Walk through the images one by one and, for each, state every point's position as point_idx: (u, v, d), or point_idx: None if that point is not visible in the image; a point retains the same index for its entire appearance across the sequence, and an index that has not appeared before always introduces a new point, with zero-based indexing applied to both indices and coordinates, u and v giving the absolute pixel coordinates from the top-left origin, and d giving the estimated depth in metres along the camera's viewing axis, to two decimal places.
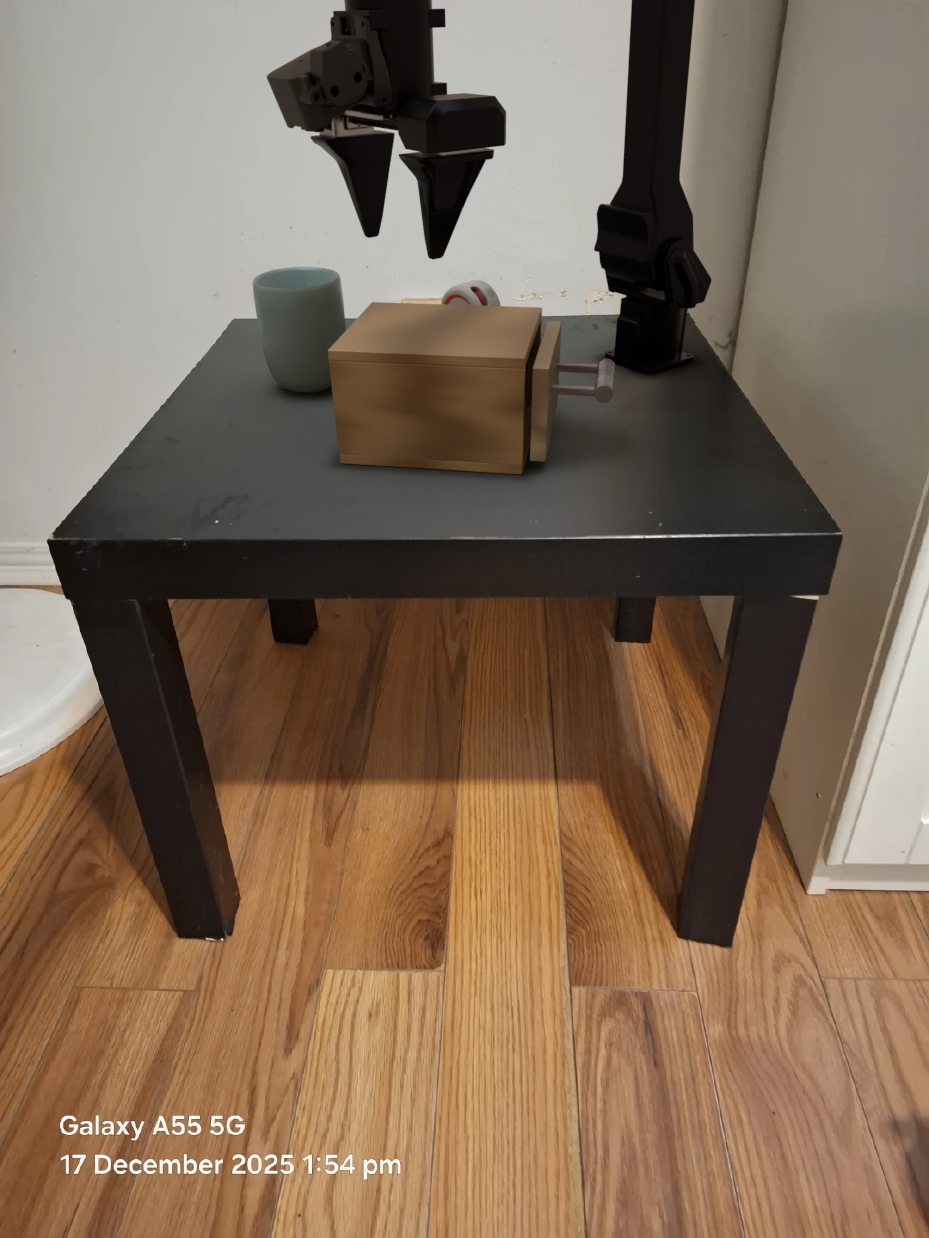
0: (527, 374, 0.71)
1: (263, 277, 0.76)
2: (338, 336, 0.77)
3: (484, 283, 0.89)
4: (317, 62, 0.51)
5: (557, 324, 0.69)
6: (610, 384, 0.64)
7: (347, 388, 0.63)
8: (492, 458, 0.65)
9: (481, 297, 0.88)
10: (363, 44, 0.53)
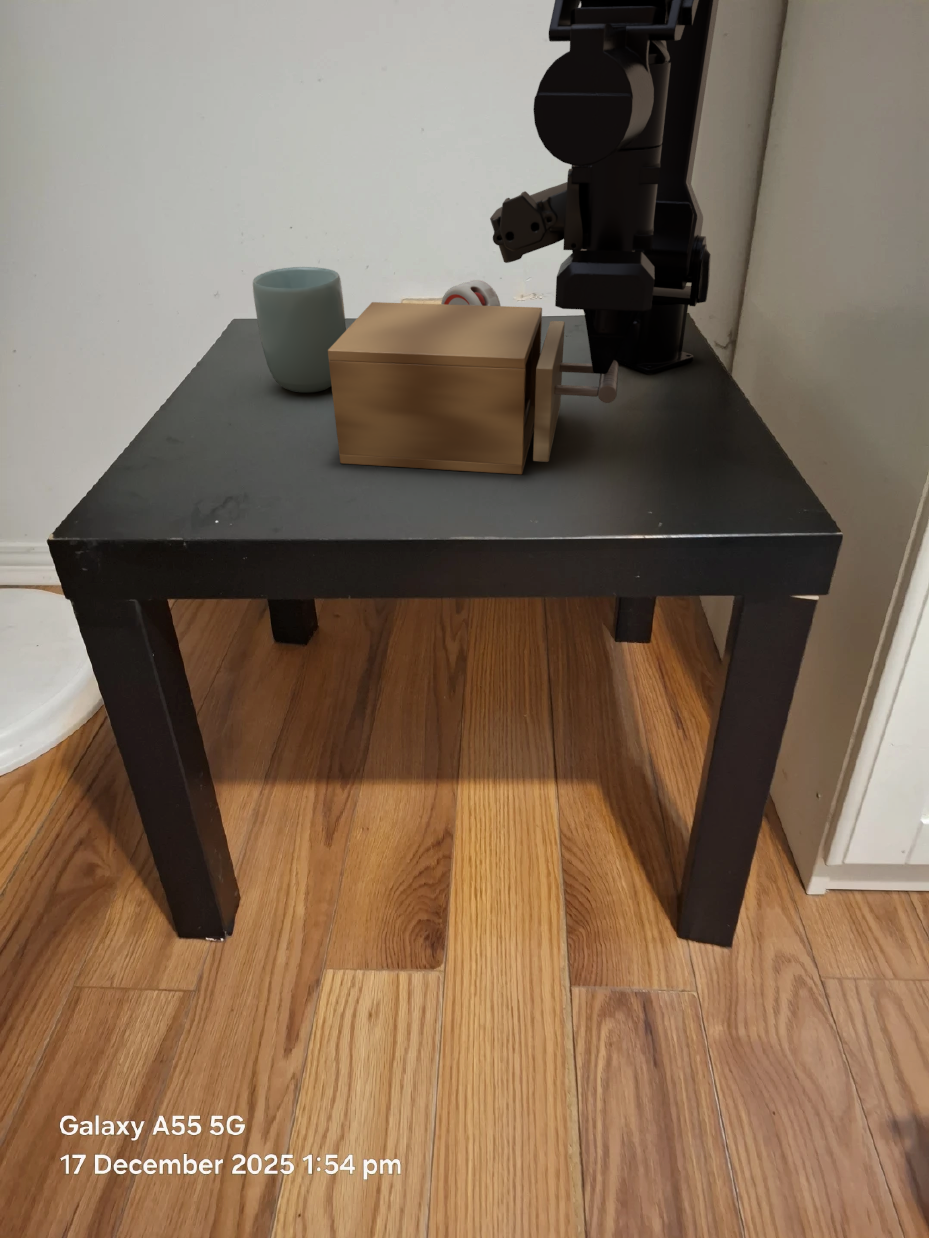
0: (530, 374, 0.71)
1: (263, 277, 0.76)
2: (338, 336, 0.77)
3: (484, 283, 0.89)
4: None
5: (560, 324, 0.69)
6: (613, 384, 0.64)
7: (347, 388, 0.63)
8: (492, 458, 0.65)
9: (481, 297, 0.88)
10: (565, 195, 0.57)
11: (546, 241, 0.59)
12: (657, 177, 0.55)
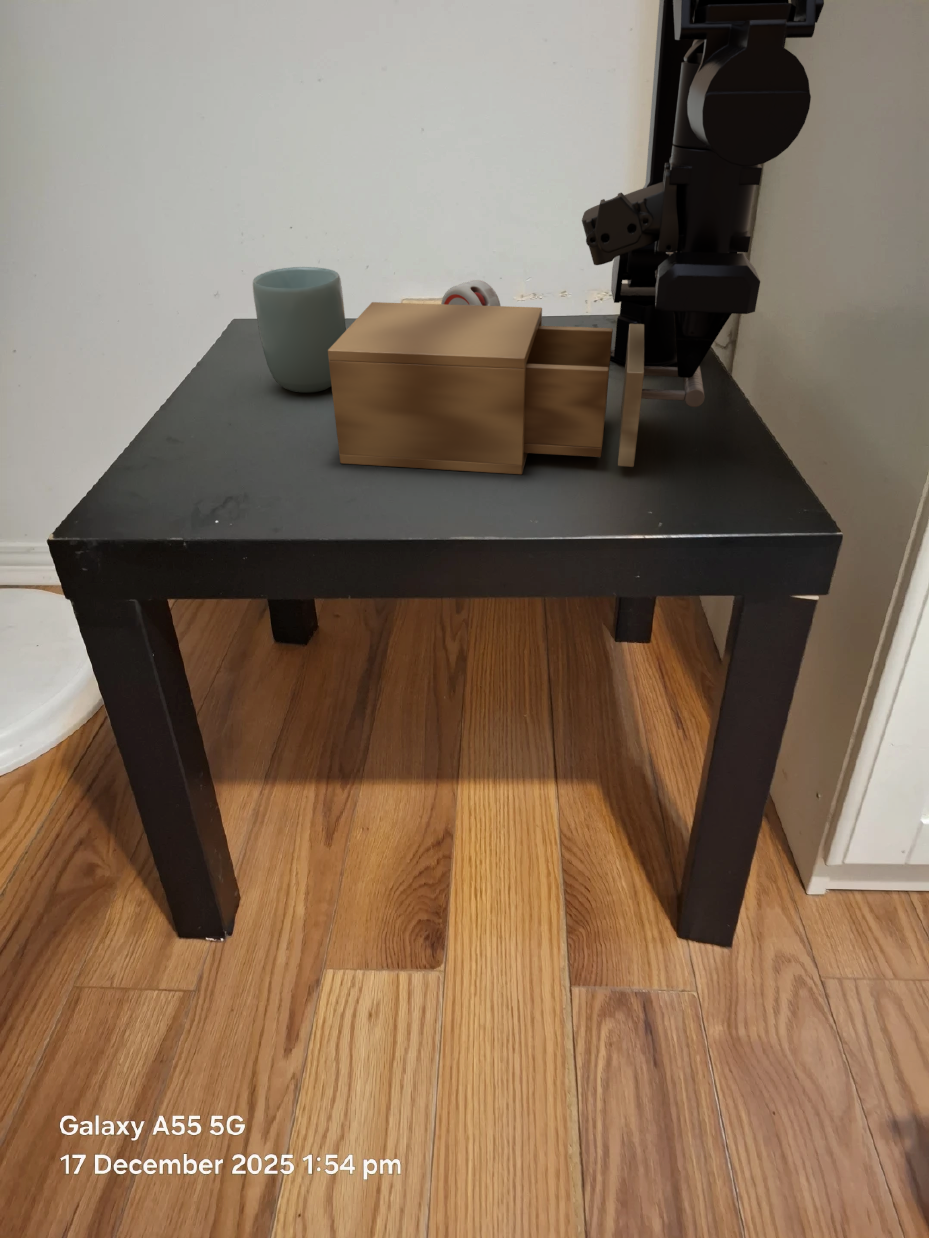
0: (607, 377, 0.70)
1: (263, 277, 0.76)
2: (338, 336, 0.77)
3: (484, 283, 0.89)
4: None
5: (640, 327, 0.68)
6: (701, 388, 0.63)
7: (347, 388, 0.63)
8: (492, 458, 0.65)
9: (481, 297, 0.88)
10: (661, 196, 0.56)
11: (640, 243, 0.58)
12: (758, 178, 0.54)
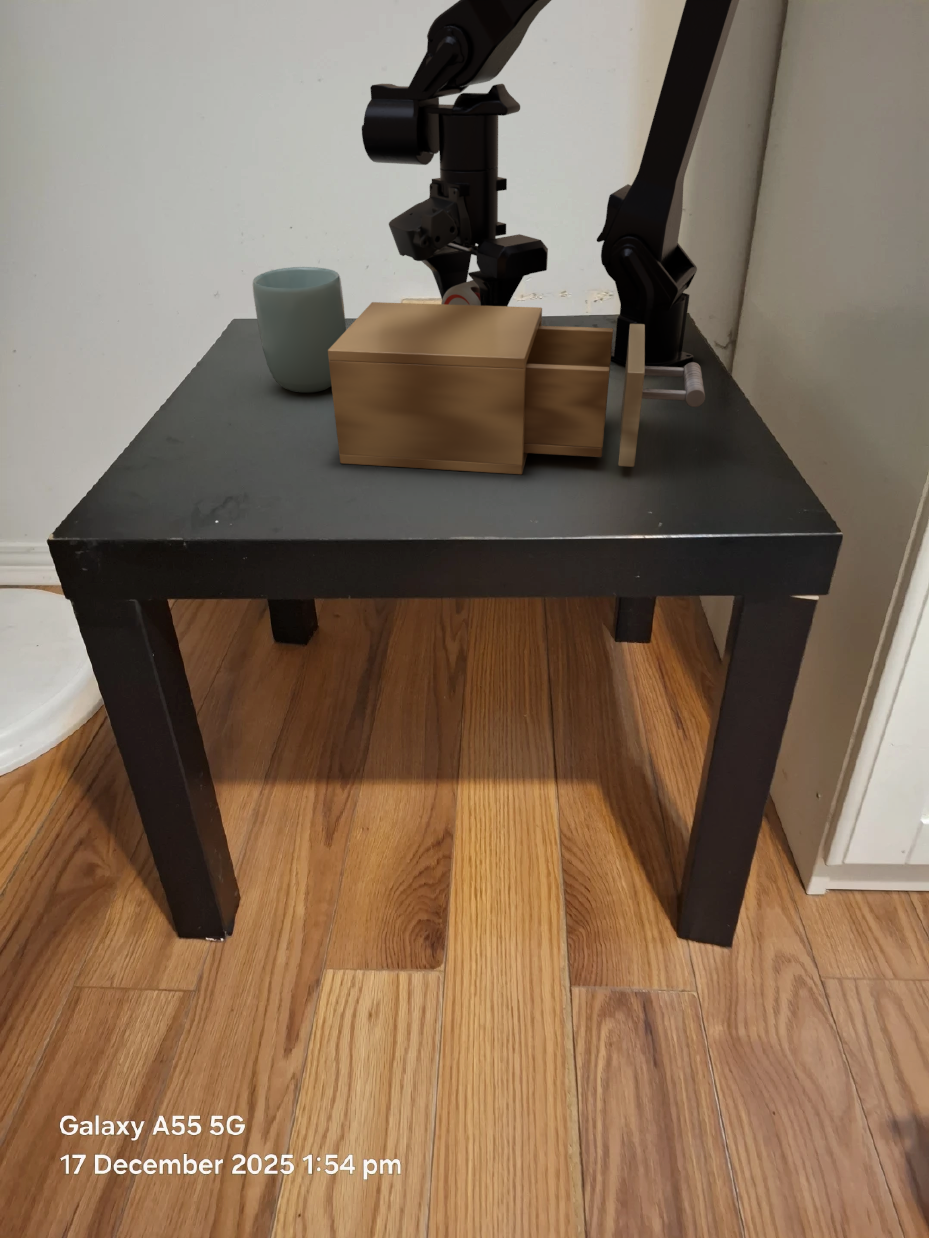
0: (608, 378, 0.70)
1: (263, 277, 0.76)
2: (338, 336, 0.77)
3: None
4: (427, 221, 0.79)
5: (640, 327, 0.68)
6: (701, 388, 0.63)
7: (347, 388, 0.63)
8: (492, 458, 0.65)
9: None
10: (454, 205, 0.81)
11: None
12: (505, 185, 0.83)
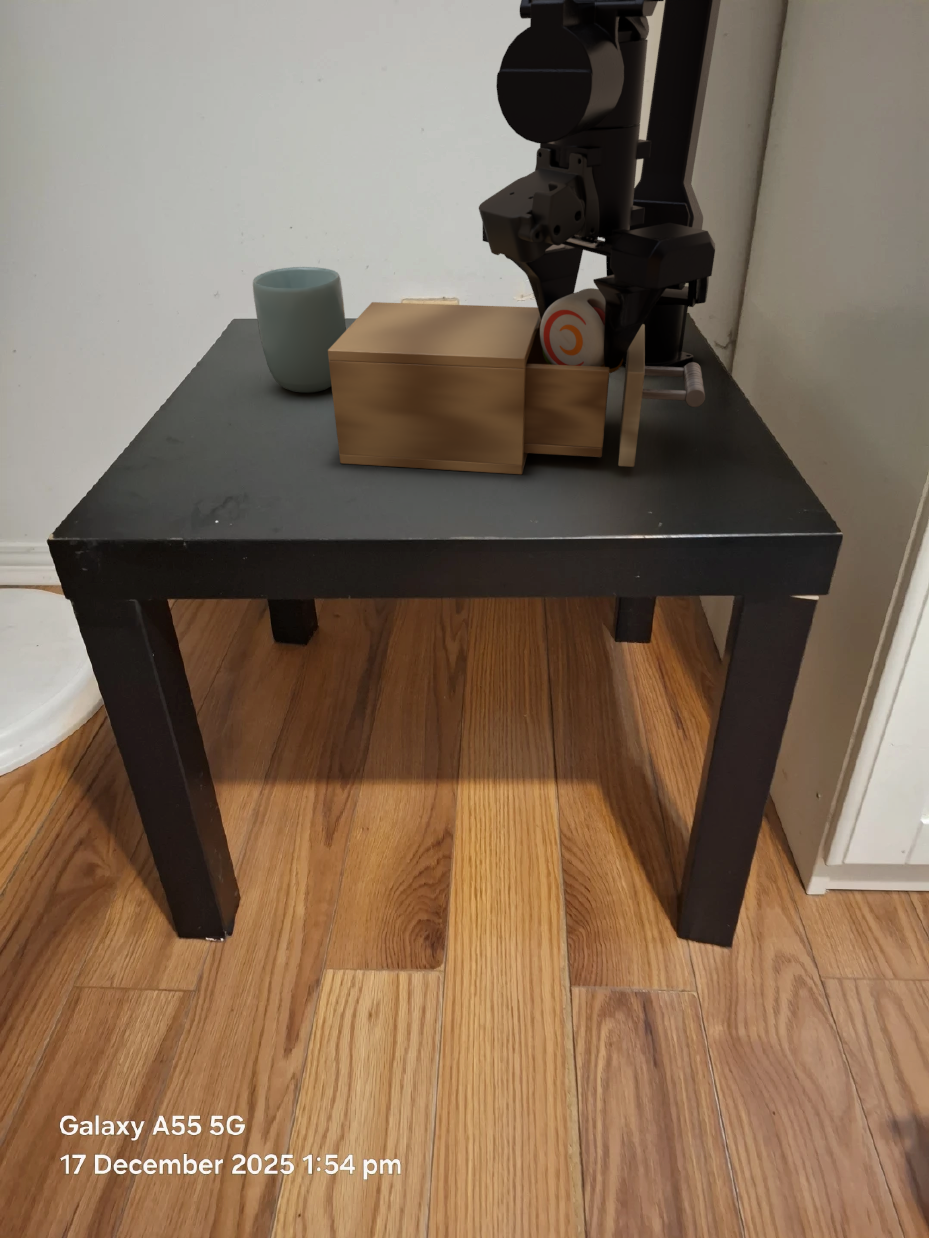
0: (608, 378, 0.70)
1: (263, 277, 0.76)
2: (338, 336, 0.77)
3: None
4: (542, 203, 0.53)
5: (640, 327, 0.68)
6: (701, 388, 0.63)
7: (347, 388, 0.63)
8: (492, 458, 0.65)
9: (602, 314, 0.62)
10: (577, 180, 0.55)
11: None
12: (649, 151, 0.57)
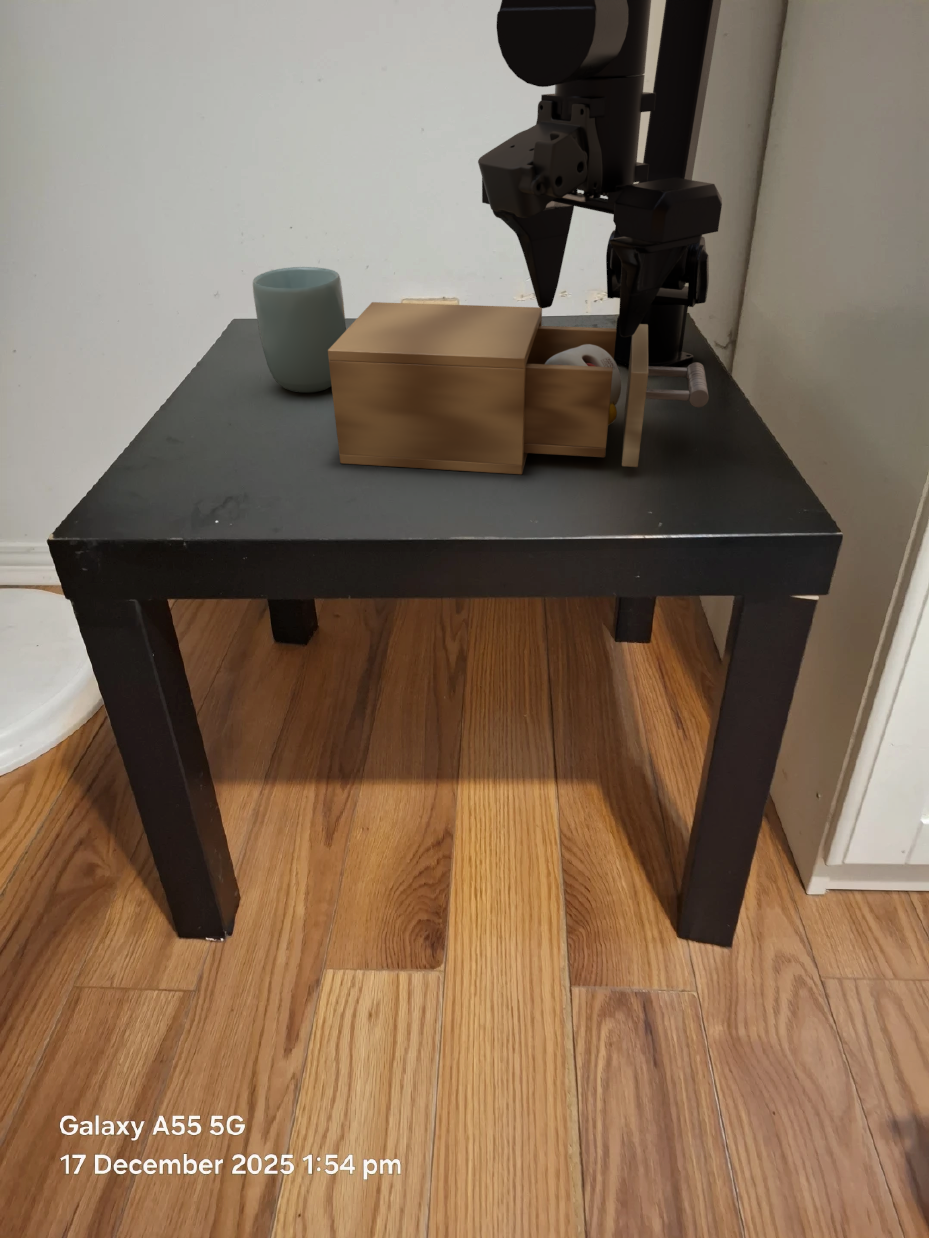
0: None
1: (263, 277, 0.76)
2: (338, 336, 0.77)
3: (601, 350, 0.65)
4: (544, 153, 0.51)
5: (644, 327, 0.68)
6: (705, 388, 0.63)
7: (347, 388, 0.63)
8: (492, 458, 0.65)
9: None
10: (580, 132, 0.53)
11: None
12: (654, 103, 0.55)
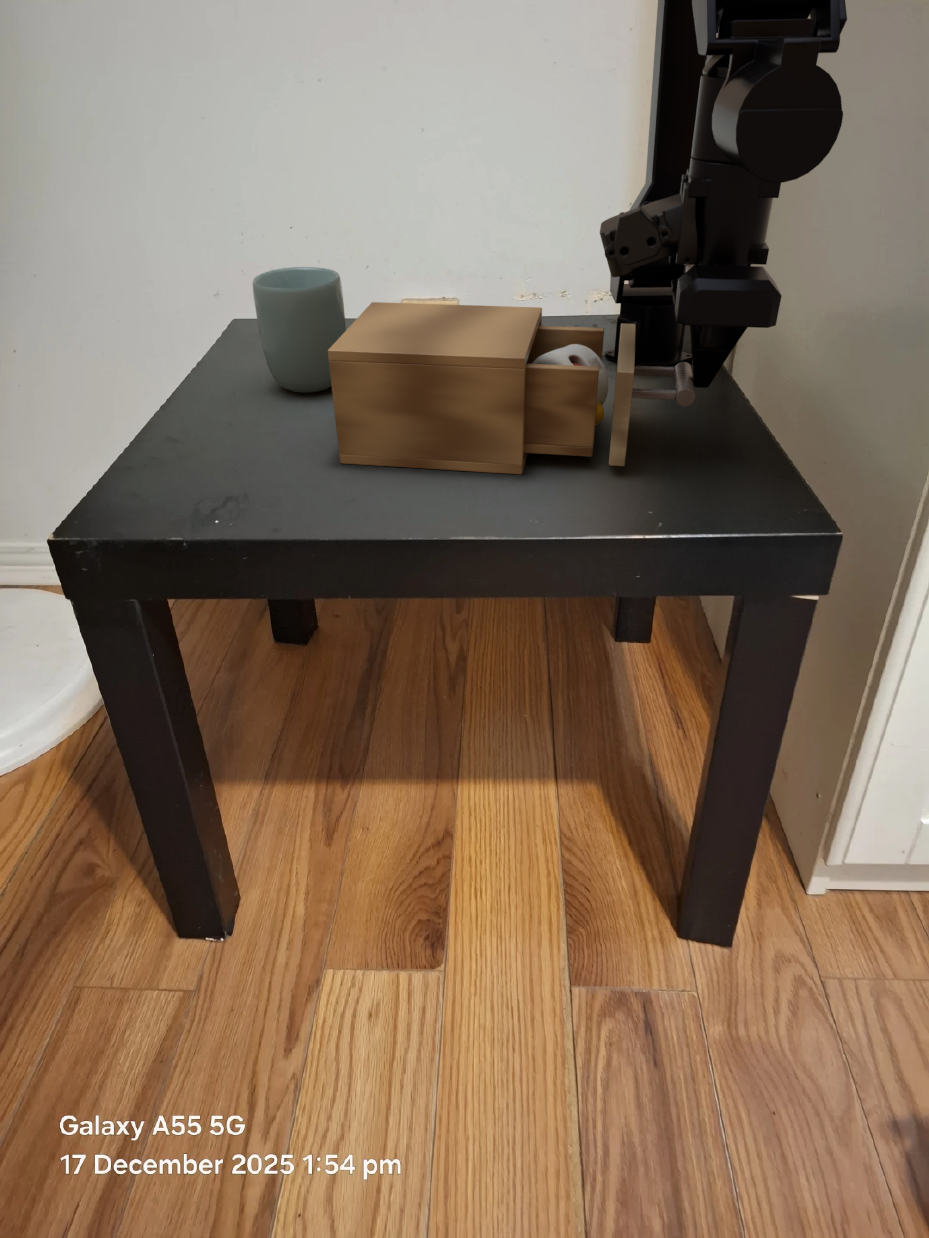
0: None
1: (263, 277, 0.76)
2: (338, 336, 0.77)
3: (588, 350, 0.65)
4: (617, 224, 0.56)
5: (631, 327, 0.68)
6: (692, 388, 0.63)
7: (347, 388, 0.63)
8: (492, 458, 0.65)
9: None
10: (680, 209, 0.56)
11: (658, 255, 0.58)
12: (777, 191, 0.54)
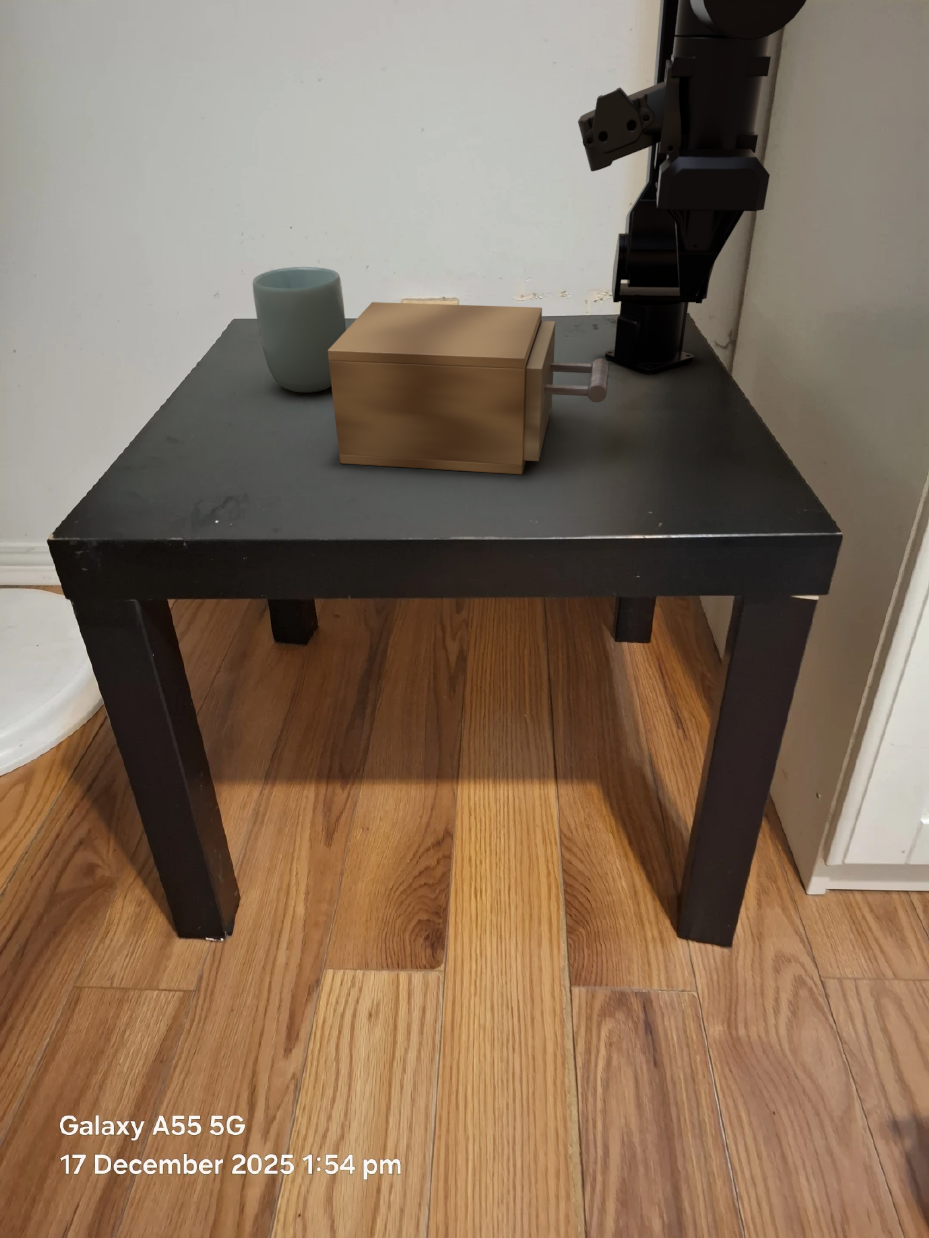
0: None
1: (263, 277, 0.76)
2: (338, 336, 0.77)
3: None
4: None
5: (550, 324, 0.69)
6: (603, 384, 0.64)
7: (347, 388, 0.63)
8: (492, 458, 0.65)
9: None
10: (663, 91, 0.53)
11: (640, 145, 0.54)
12: (767, 68, 0.51)
